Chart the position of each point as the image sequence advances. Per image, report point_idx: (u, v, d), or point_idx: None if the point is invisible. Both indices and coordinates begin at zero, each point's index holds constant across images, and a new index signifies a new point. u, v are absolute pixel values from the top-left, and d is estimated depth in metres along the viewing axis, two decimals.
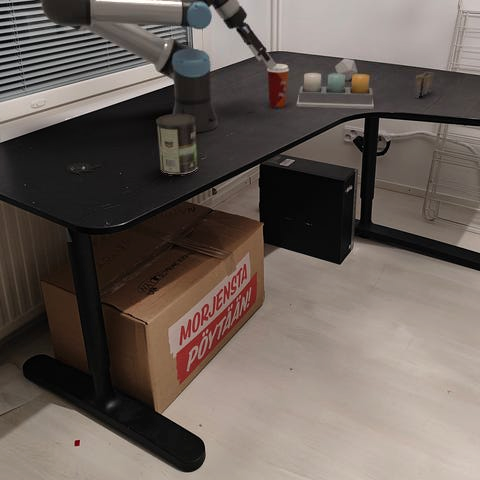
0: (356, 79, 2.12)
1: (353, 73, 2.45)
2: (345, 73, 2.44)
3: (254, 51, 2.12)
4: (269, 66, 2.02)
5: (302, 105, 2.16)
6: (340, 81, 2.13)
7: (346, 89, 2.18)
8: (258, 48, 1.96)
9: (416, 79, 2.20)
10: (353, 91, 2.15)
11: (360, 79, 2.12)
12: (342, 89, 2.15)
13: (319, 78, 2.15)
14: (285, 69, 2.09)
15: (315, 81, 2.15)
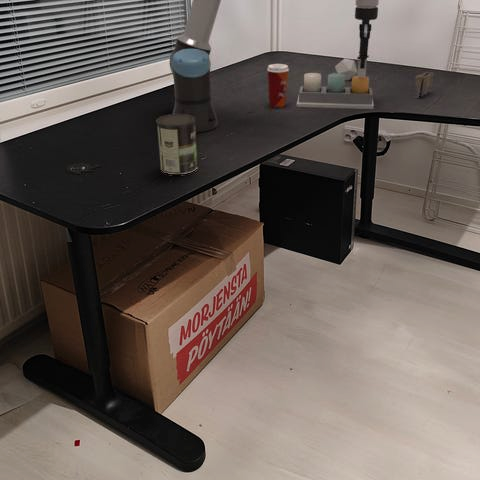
0: (356, 81, 2.13)
1: (353, 73, 2.45)
2: (345, 73, 2.44)
3: None
4: (359, 74, 2.13)
5: (302, 105, 2.16)
6: (340, 81, 2.13)
7: (346, 89, 2.18)
8: (361, 53, 2.06)
9: (416, 79, 2.20)
10: None
11: (360, 81, 2.12)
12: (342, 89, 2.15)
13: (319, 78, 2.15)
14: (285, 69, 2.09)
15: (315, 81, 2.15)
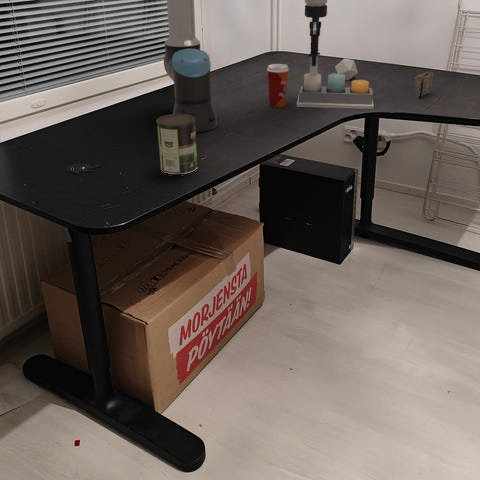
0: (356, 85, 2.13)
1: (353, 73, 2.45)
2: (345, 73, 2.44)
3: None
4: (311, 71, 2.15)
5: (302, 105, 2.16)
6: (340, 81, 2.13)
7: (346, 89, 2.18)
8: (312, 51, 2.08)
9: (416, 79, 2.20)
10: None
11: (360, 85, 2.13)
12: (342, 89, 2.15)
13: (319, 78, 2.15)
14: (285, 69, 2.09)
15: (315, 82, 2.15)
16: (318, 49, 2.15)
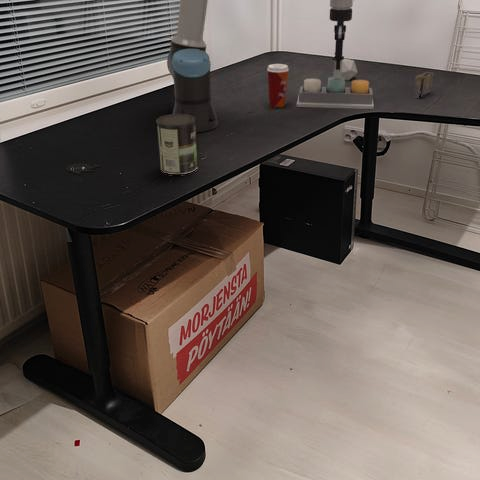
0: (356, 85, 2.13)
1: (353, 73, 2.45)
2: (345, 73, 2.44)
3: None
4: (335, 74, 2.14)
5: (302, 105, 2.16)
6: (340, 84, 2.14)
7: (346, 89, 2.18)
8: (336, 54, 2.08)
9: (416, 79, 2.20)
10: None
11: (360, 85, 2.13)
12: (342, 92, 2.16)
13: (319, 84, 2.16)
14: (285, 69, 2.09)
15: (315, 87, 2.16)
16: None
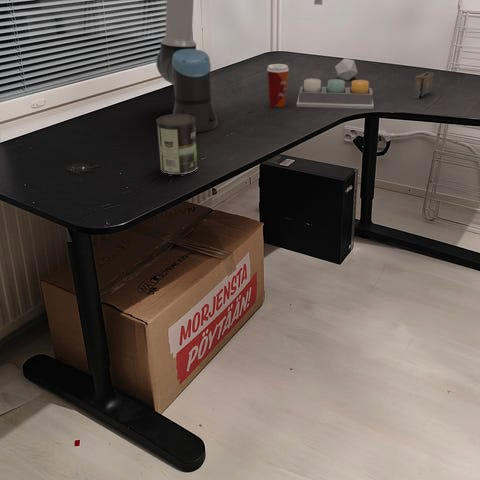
0: (356, 85, 2.13)
1: (353, 73, 2.45)
2: (345, 73, 2.44)
3: None
4: (315, 0, 2.11)
5: (302, 105, 2.16)
6: (340, 86, 2.14)
7: (346, 89, 2.18)
8: None
9: (416, 79, 2.20)
10: None
11: (360, 85, 2.13)
12: None
13: (319, 84, 2.16)
14: (285, 69, 2.09)
15: (315, 87, 2.16)
16: None
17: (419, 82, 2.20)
